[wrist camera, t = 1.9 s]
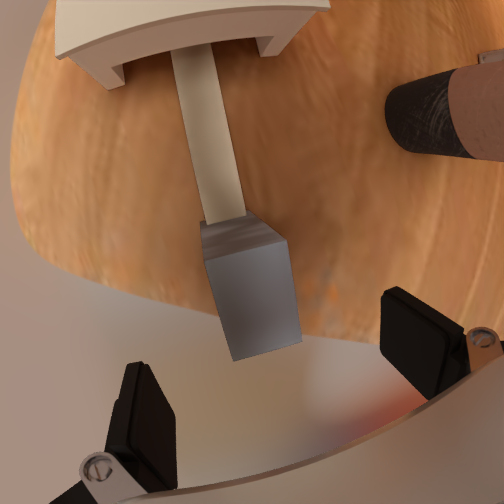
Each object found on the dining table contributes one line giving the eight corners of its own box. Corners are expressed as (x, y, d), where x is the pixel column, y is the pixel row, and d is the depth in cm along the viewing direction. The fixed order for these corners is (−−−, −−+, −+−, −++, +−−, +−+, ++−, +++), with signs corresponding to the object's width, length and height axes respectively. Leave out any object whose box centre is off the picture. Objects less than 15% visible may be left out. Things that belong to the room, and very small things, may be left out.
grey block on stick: (209, 24, 18) (221, -48, 9) (262, 277, 25) (302, 341, 16) (161, 33, 18) (146, -36, 8) (217, 289, 25) (233, 361, 15)
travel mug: (430, 165, 25) (601, 197, 7) (376, 140, 24) (588, 149, 5) (438, 102, 23) (596, 98, 5) (386, 70, 22) (567, 29, 3)
